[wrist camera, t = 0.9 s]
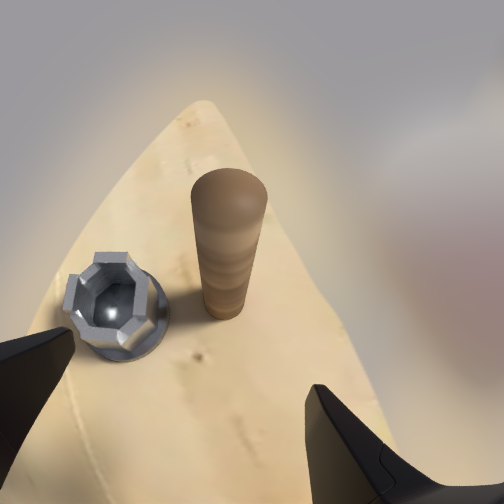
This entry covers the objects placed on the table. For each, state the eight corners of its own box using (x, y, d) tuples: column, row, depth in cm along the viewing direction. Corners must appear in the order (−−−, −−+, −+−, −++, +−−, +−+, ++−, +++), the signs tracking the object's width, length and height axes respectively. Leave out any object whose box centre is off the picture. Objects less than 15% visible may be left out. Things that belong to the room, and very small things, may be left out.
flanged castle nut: (168, 365, 21) (154, 356, 16) (77, 356, 20) (49, 343, 15) (172, 271, 25) (162, 243, 21) (90, 270, 24) (70, 244, 20)
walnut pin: (245, 319, 24) (271, 225, 12) (204, 319, 23) (187, 224, 11) (242, 282, 26) (263, 169, 14) (204, 283, 25) (193, 168, 13)
